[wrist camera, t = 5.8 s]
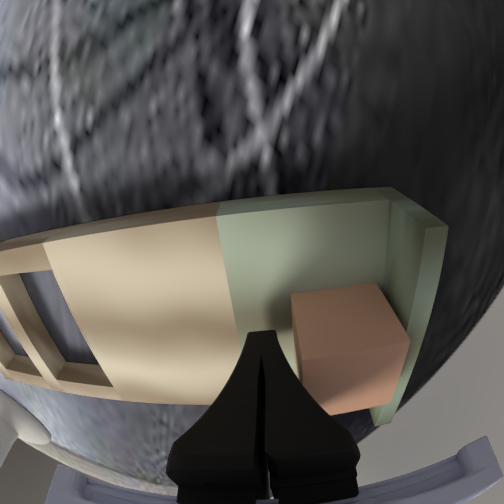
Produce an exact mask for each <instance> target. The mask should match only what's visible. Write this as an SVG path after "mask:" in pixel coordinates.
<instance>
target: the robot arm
mask: <svg viewBox="0 0 504 504" xmlns="http://www.w3.org/2000/svg"><path fill="white" fill-rule="evenodd" d="M359 459H360V451H359V449H358V446H357V444H356V442H355V440H354V438H353V437H352V435H351V433H350V432H349V431H348V430H347V429H346V428H344V427H343V426H342V425H341V424H339V423H338V422H337V421H336V420H335V419H333V418H332V417H331V416H330V415H329V414H328V413H327V412H326V411H325V410H324V409H323V408H322V407H321V406H320V405H319V404H318V403H317V402H316V401H315V400H314V398H313V397H312V396H311V395H310V394H309V392H308V391H307V390H306V389H305V387H304V386H303V385H302V383H301V382H300V380H299V379H298V378H297V376H296V374H295V373H294V371H293V370H292V368H291V366H290V365H289V363H288V361H287V359H286V357H285V355H284V353H283V351H282V348H281V346H280V344H279V341H278V338H277V334H276V331H275V330H264V331H253V332H249V333H248V334H247V337H246V340H245V344H244V347H243V349H242V352H241V355H240V357H239V359H238V361H237V364H236V366H235V368H234V370H233V372H232V374H231V375H230V377H229V379H228V381H227V383H226V384H225V386H224V388H223V389H222V391H221V392H220V394H219V395H218V397H217V398H216V399H215V401H214V402H213V403H212V405H211V406H210V407H209V408H208V410H207V411H206V412H205V413H204V414H203V415H202V416H201V417H200V419H199V420H198V421H197V422H196V423H195V424H194V425H193V426H192V427H191V428H190V429H189V430H187V431H186V432H185V433H184V434H183V435H182V436H181V437H179V438H178V439H177V440H176V441H175V442H174V443H173V446H172V448H171V451H170V454H169V457H168V462H167V468H166V474H167V475H168V477H169V478H170V479H171V480H172V481H173V482H175V483H176V484H177V485H178V486H179V487H178V494H177V496H169V495H162V494H156V493H150V492H144V491H139V490H134V489H129V488H124V487H120V486H115V485H111V484H107V483H104V482H100V481H96V480H93V479H89V478H87V476H85V475H84V474H83V473H81V472H79V471H77V470H75V469H72V468H69V467H66V466H63V465H60V464H58V466H57V468H56V471H55V474H54V477H53V480H52V483H51V486H50V489H49V492H48V495H47V498H46V501H45V504H464V503H465V502H467V501H469V500H471V499H473V498H475V497H476V496H478V495H480V494H481V493H483V492H484V491H486V490H487V489H488V488H490V487H491V486H493V485H494V484H495V483H497V482H498V481H499V480H501V479H502V478H503V473H502V471H501V469H500V466H499V463H498V461H497V459H496V456H495V454H494V451H493V449H492V447H491V445H490V442H489V440H488V438H487V436H483V437H481V438H479V439H477V440H475V441H474V442H471V443H469V444H468V445H466V446H464V447H463V448H462V449H460V450H459V451H458V453H457V454H456V455H454V456H452V457H450V458H448V459H445V460H443V461H440V462H438V463H435V464H433V465H430V466H427V467H425V468H422V469H419V470H416V471H414V472H411V473H408V474H405V475H401V476H399V477H395V478H392V479H388V480H385V481H381V482H377V483H373V484H369V485H366V486H361V487H358V485H357V480H356V477H357V471H356V465H357V463H358V461H359ZM268 468H269V472H270V489H271V490H272V493H273V497H274V499H270V498H269V481H268Z"/></svg>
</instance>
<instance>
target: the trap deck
mask: <svg viewBox="0 0 504 504" xmlns="http://www.w3.org/2000/svg"><path fill="white" fill-rule="evenodd" d="M448 227H449V226H448V225H447V224H445V223H444V222H443V221H441V220H440V219H439V218H437V217H436V216H434V215H433V214H431V213H430V212H429V211H427V210H426V209H424V208H423V207H421V206H420V205H418V204H417V203H415V202H414V201H412V200H411V199H409V198H408V197H406V196H405V195H403V194H402V193H400V192H399V191H397V190H395V189H394V188H392V187H375V188H358V189H342V190H329V191H316V192H304V193H293V194H283V195H273V196H263V197H254V198H245V199H236V200H228V201H220V202H212V203H205V204H197V205H190V206H183V207H176V208H169V209H163V210H156V211H150V212H144V213H138V214H132V215H126V216H120V217H114V218H109V219H103V220H98V221H93V222H87V223H82V224H77V225H72V226H67V227H62V228H58V229H53V230H48V231H44V232H39V233H35V234H30V235H26V236H21V237H17V238H13V239H9V240H5V241H1V242H0V308H1V310H2V312H3V314H4V316H5V317H6V319H7V321H8V323H9V325H10V326H11V328H12V330H13V332H14V333H15V335H16V337H17V338H18V340H19V342H20V343H21V345H22V346H23V348H24V350H25V351H26V353H27V354H28V356H29V357H27V356H21V355H16V354H15V353H14V352H13V350H12V348H11V347H10V345H9V344H8V342H7V341H6V339H5V337H4V336H3V334H2V332H1V331H0V371H1V373H2V374H3V375H4V377H5V378H7V379H10V380H14V381H18V382H21V383H25V384H29V385H34V386H38V387H42V388H47V389H52V390H56V391H62V392H67V393H72V394H78V395H85V396H91V397H98V398H106V399H114V400H123V401H134V402H146V403H163V404H200V405H207V404H212V403H213V402H214V401H215V399H216V398H217V397H218V395H219V394H220V392H221V391H222V389H223V388H224V386H225V384H226V383H227V381H228V379H229V377H230V375H231V374H232V372H233V370H234V368H235V366H236V364H237V361H238V359H239V357H240V355H241V352H242V349H243V347H244V344H245V340H246V337H247V334H248V333H249V332H253V331H264V330H275V331H276V334H277V338H278V341H279V344H280V346H281V348H282V351H283V353H284V355H285V357H286V359H287V361H288V363H289V365H290V366H291V368H292V370H293V371H294V373H295V374H296V376H297V373H296V366H295V359H294V346H293V328H292V312H291V296H290V294H293V293H301V292H310V291H317V290H325V289H333V288H340V287H347V286H354V285H361V284H368V283H375V282H376V283H377V285H378V287H379V288H380V290H381V291H382V293H383V295H384V296H385V298H386V299H387V301H388V303H389V304H390V306H391V308H392V309H393V311H394V313H395V314H396V316H397V318H398V319H399V321H400V323H401V325H402V326H403V328H404V330H405V331H406V333H407V335H408V337H409V338H410V340H411V341H410V345H409V348H408V352H407V355H406V358H405V361H404V365H403V368H402V371H401V374H400V377H399V380H398V383H397V385H396V388H395V391H394V394H393V396H392V399H391V402H390V403H387V404H383V405H379V406H375V407H371V408H369V409H370V413H371V416H372V420H373V423H374V426H380V425H384V424H388V423H390V422H391V420H392V418H393V416H394V414H395V412H396V410H397V407H398V405H399V403H400V400H401V398H402V396H403V393H404V391H405V388H406V386H407V383H408V381H409V378H410V376H411V373H412V370H413V368H414V365H415V362H416V359H417V356H418V354H419V351H420V348H421V345H422V342H423V338H424V335H425V332H426V329H427V325H428V322H429V318H430V315H431V311H432V307H433V303H434V299H435V295H436V291H437V287H438V283H439V278H440V273H441V269H442V263H443V258H444V253H445V247H446V241H447V234H448ZM44 270H53V272H54V275H55V277H56V280H57V282H58V284H59V287H60V289H61V291H62V293H63V296H64V298H65V300H66V302H67V304H68V306H69V309H70V311H71V313H72V315H73V317H74V319H75V321H76V323H77V325H78V327H79V329H80V330H81V332H82V334H83V336H84V338H85V340H86V342H87V343H88V345H89V347H90V349H91V351H92V352H93V354H94V356H95V358H96V359H97V361H98V363H99V364H100V365H94V364H83V363H73V362H66V361H65V359H64V358H63V356H62V355H61V353H60V351H59V350H58V348H57V346H56V345H55V343H54V341H53V340H52V338H51V336H50V334H49V333H48V331H47V329H46V327H45V325H44V324H43V322H42V320H41V318H40V316H39V314H38V312H37V310H36V308H35V306H34V304H33V302H32V300H31V298H30V296H29V294H28V292H27V290H26V288H25V285H24V283H23V281H22V279H21V276H20V274H19V273H26V272H35V271H44Z"/></svg>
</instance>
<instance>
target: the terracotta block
mask: <svg viewBox="0 0 504 504" xmlns="http://www.w3.org/2000/svg"><path fill="white" fill-rule="evenodd" d="M290 296H291V312H292V328H293V346H294V359H295V366H296V373H297V378H298V379H299V380H300V382H301V383H302V385H303V386H304V387H305V389H306V390H307V391H308V392H309V394H310V395H311V396H312V397H313V398H314V400H315V401H316V402H317V403H318V404H319V405H320V406H321V407H322V408H323V409H324V410H325V411H326V412H327V413H328V414H329V415H336V414H341V413H347V412H352V411H357V410H361V409H366V408H371V407H375V406H379V405H383V404H387V403H390V402H391V399H392V396H393V394H394V391H395V388H396V385H397V383H398V380H399V377H400V374H401V371H402V368H403V365H404V361H405V358H406V355H407V352H408V348H409V345H410V341H411V340H410V338H409V337H408V335H407V333H406V331H405V330H404V328H403V326H402V325H401V323H400V321H399V319H398V318H397V316H396V314H395V313H394V311H393V309H392V308H391V306H390V304H389V303H388V301H387V299H386V298H385V296H384V295H383V293H382V291H381V290H380V288H379V287H378V285H377V283H376V282H375V283H368V284H361V285H354V286H347V287H340V288H333V289H325V290H317V291H310V292H301V293H293V294H290Z"/></svg>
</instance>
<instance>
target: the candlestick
mask: <svg viewBox="0 0 504 504" xmlns="http://www.w3.org/2000/svg"><path fill="white" fill-rule="evenodd" d="M18 437H19V438H21V439H23V440H26V441H28V442H31V443H35V444H47V443H49V442H50V439H51V436H50V434H49V432H48V431H47V430H46V428H45V427H44V426H43V425H42V424H41V423H40V422H39V421H38V420H37V419H36V418H35V417H34V416H33V415H32V414H30V413H29V412H28V411H27V410H26V409H25V408H23V407H22V406H21V405H20V404H18V403H17V402H16V401H14V400H13V399H12V398H10V397H9V396H8V395H6V394H5V393H3V392H2V391H0V468H1V466H2V464H3V462H4V460H5V458H6V456H7V454H8V452H9V450H10V448H11V446H12V444H13V442H14V441H15V440H16V439H17V438H18Z"/></svg>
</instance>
